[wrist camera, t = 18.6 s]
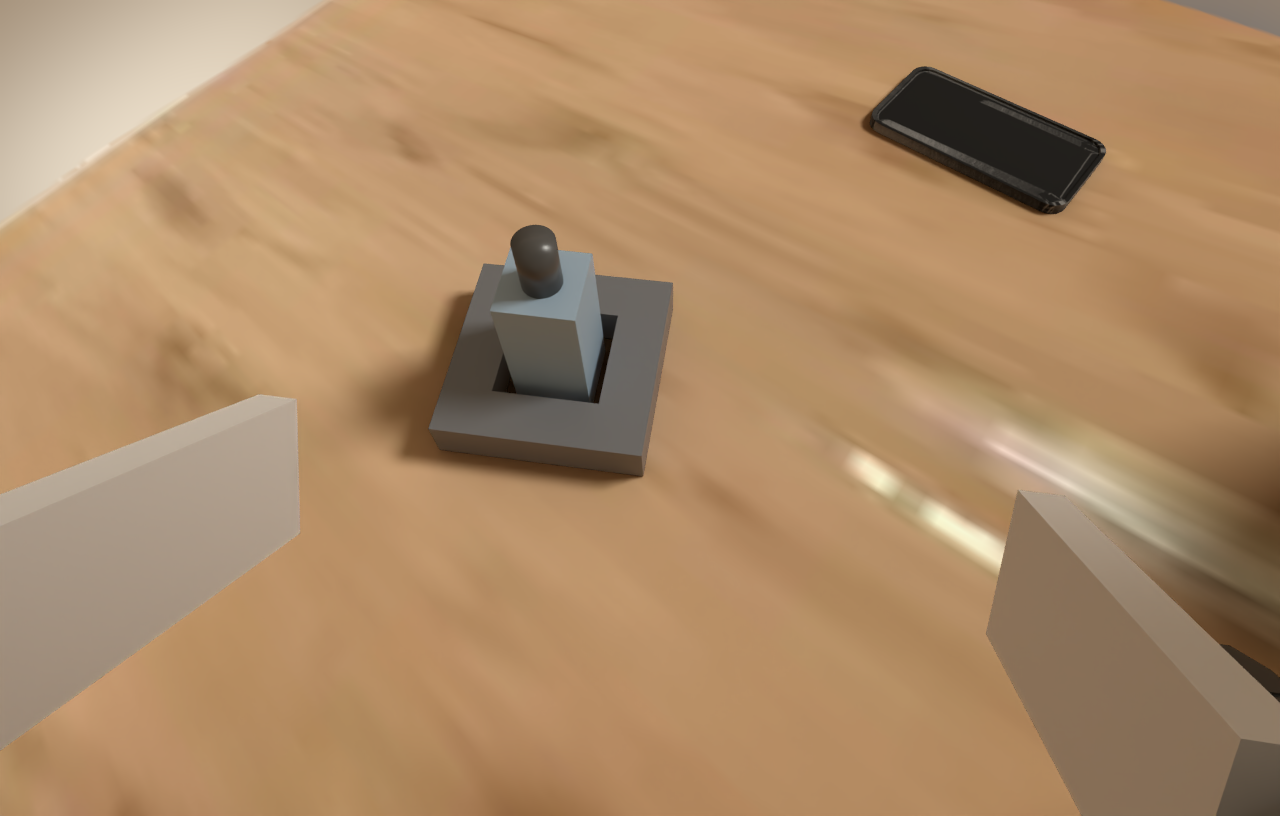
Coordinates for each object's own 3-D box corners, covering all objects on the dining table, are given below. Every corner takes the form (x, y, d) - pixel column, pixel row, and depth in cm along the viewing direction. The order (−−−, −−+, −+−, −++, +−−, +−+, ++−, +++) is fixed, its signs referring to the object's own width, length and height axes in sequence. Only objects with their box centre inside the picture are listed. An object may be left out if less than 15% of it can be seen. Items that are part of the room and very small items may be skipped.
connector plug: (605, 350, 50) (586, 212, 40) (591, 411, 48) (568, 282, 38) (536, 342, 51) (500, 204, 40) (519, 402, 48) (477, 272, 38)
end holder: (673, 307, 51) (672, 282, 49) (643, 476, 46) (641, 456, 43) (491, 288, 53) (483, 263, 51) (439, 449, 47) (428, 428, 45)
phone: (1061, 211, 53) (866, 116, 59) (1054, 223, 54) (862, 129, 60) (1112, 145, 56) (922, 61, 62) (1105, 157, 57) (918, 74, 63)
